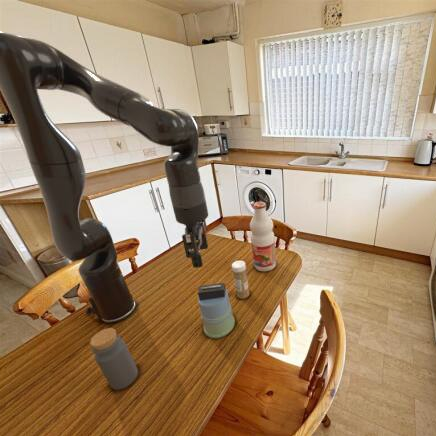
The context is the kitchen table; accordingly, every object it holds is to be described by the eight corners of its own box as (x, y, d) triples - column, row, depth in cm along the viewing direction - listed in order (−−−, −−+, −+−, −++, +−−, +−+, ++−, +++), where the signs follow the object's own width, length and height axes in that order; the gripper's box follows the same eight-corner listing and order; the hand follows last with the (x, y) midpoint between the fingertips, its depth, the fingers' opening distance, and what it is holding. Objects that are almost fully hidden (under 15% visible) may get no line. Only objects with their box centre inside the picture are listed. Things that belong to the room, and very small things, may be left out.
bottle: (133, 362, 64) (113, 321, 57) (142, 375, 60) (122, 334, 54) (107, 379, 60) (83, 338, 53) (115, 395, 56) (90, 353, 50)
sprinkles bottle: (251, 295, 85) (247, 264, 79) (239, 301, 82) (234, 269, 77) (246, 288, 88) (242, 258, 82) (234, 293, 86) (229, 262, 80)
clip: (199, 300, 67) (197, 291, 65) (201, 293, 69) (199, 284, 68) (225, 297, 68) (223, 288, 66) (225, 290, 70) (224, 281, 69)
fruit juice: (281, 265, 100) (277, 203, 88) (263, 275, 95) (256, 210, 83) (267, 256, 107) (262, 197, 95) (249, 265, 101) (241, 204, 89)
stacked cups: (201, 340, 69) (192, 309, 64) (206, 315, 77) (199, 286, 72) (233, 335, 70) (227, 304, 65) (235, 311, 78) (230, 282, 73)
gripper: (180, 192, 63) (192, 244, 70) (162, 213, 50) (179, 275, 57) (209, 190, 64) (218, 242, 71) (199, 210, 51) (212, 271, 58)
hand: (201, 257), depth 64 cm, fingers open, 8 cm apart
